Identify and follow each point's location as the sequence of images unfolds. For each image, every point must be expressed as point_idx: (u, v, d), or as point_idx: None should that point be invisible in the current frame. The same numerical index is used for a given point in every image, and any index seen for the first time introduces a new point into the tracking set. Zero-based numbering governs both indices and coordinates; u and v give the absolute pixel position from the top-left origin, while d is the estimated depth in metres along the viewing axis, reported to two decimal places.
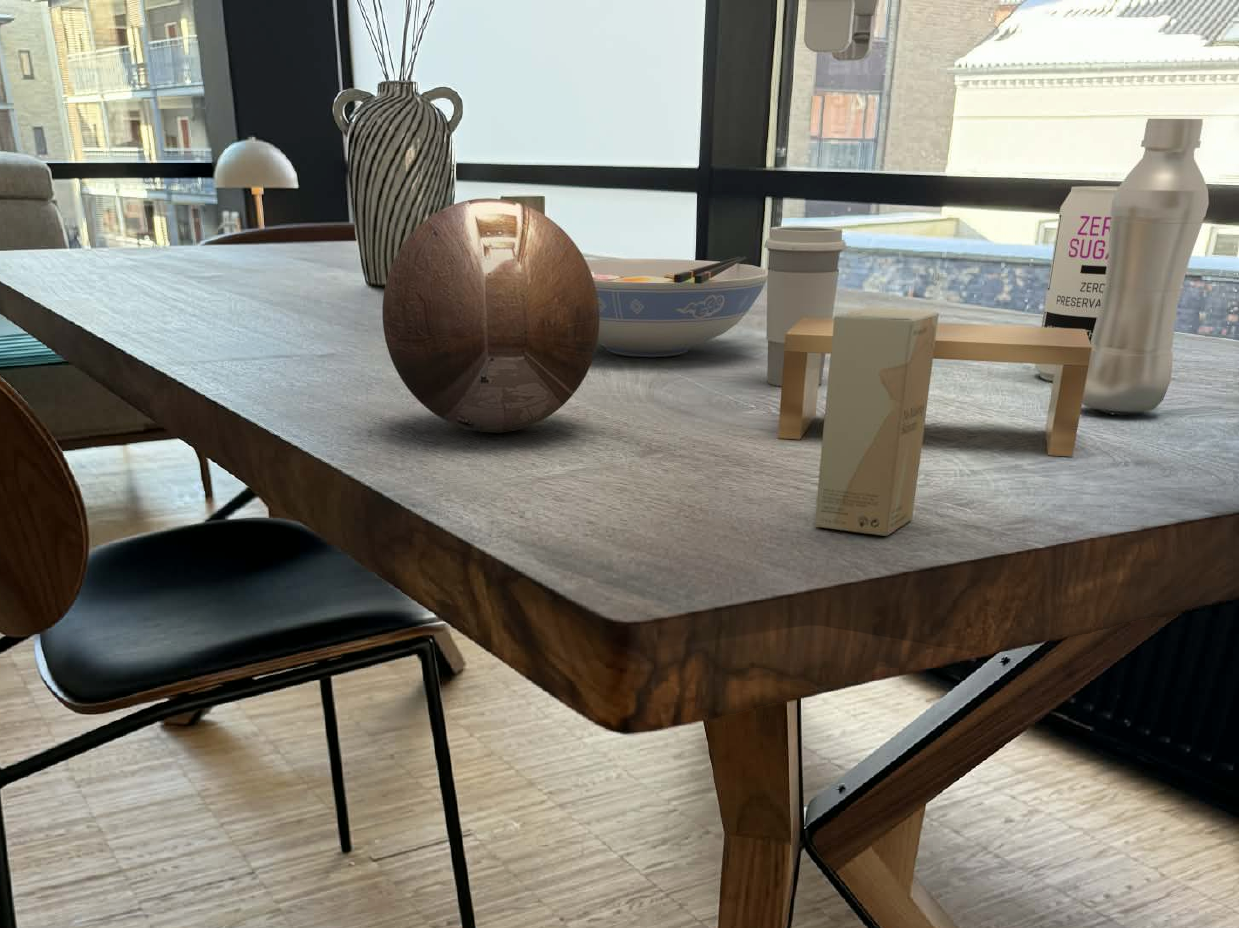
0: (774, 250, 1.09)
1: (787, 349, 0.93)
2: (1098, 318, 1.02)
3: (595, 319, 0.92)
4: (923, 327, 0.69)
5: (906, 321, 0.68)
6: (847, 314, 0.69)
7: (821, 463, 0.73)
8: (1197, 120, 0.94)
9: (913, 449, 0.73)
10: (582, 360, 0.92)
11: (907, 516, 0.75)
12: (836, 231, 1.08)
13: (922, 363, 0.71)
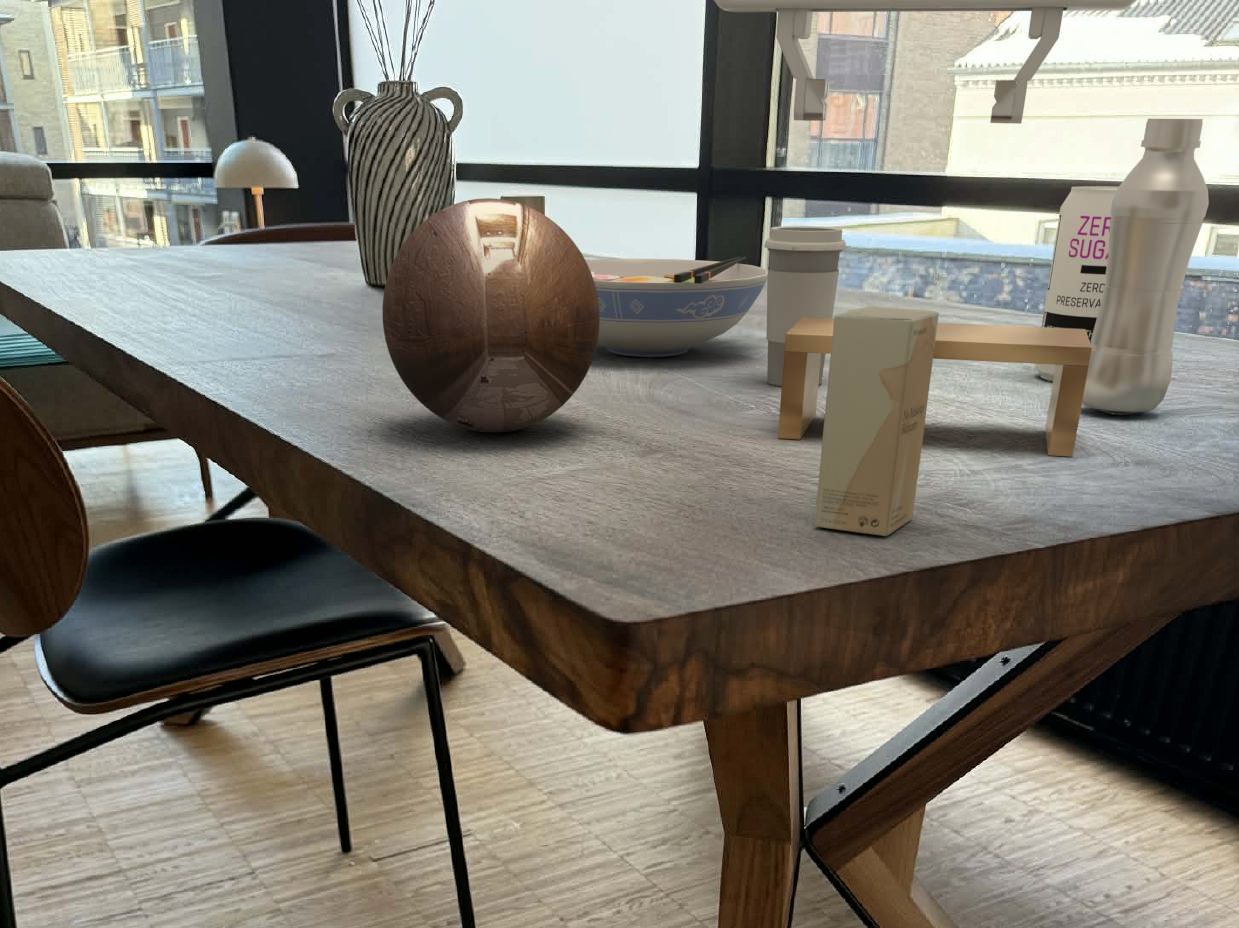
0: (774, 250, 1.09)
1: (787, 349, 0.93)
2: (1098, 318, 1.02)
3: (595, 319, 0.92)
4: (923, 327, 0.69)
5: (906, 321, 0.68)
6: (847, 314, 0.69)
7: (821, 463, 0.73)
8: (1197, 120, 0.94)
9: (913, 449, 0.73)
10: (582, 360, 0.92)
11: (907, 516, 0.75)
12: (836, 231, 1.08)
13: (922, 363, 0.71)
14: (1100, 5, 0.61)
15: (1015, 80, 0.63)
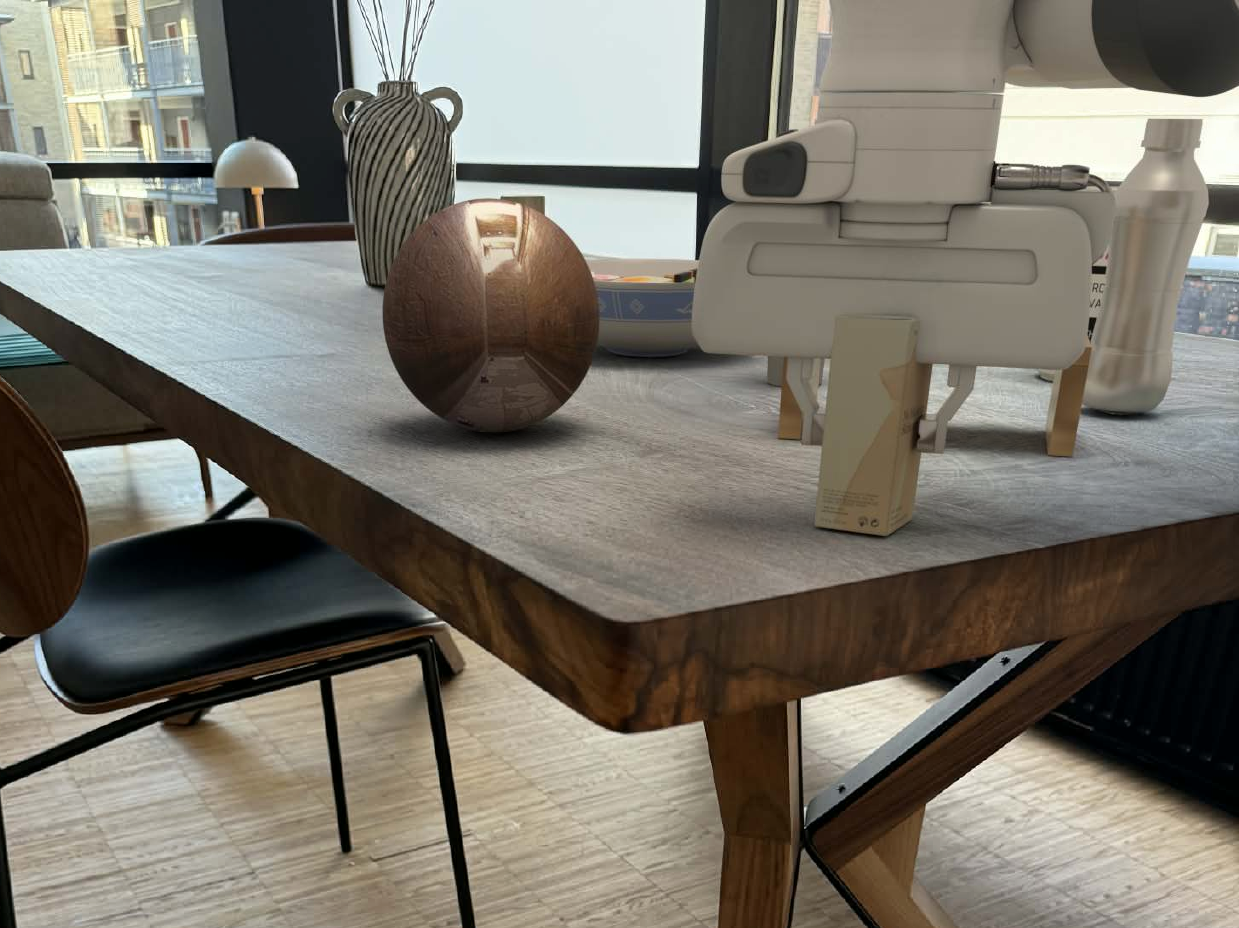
0: None
1: None
2: (1098, 318, 1.02)
3: (595, 319, 0.92)
4: None
5: (906, 320, 0.68)
6: None
7: (821, 463, 0.73)
8: (1197, 120, 0.94)
9: (913, 449, 0.73)
10: (582, 360, 0.92)
11: (907, 516, 0.75)
12: None
13: (922, 363, 0.71)
14: (1041, 368, 0.68)
15: (936, 420, 0.71)
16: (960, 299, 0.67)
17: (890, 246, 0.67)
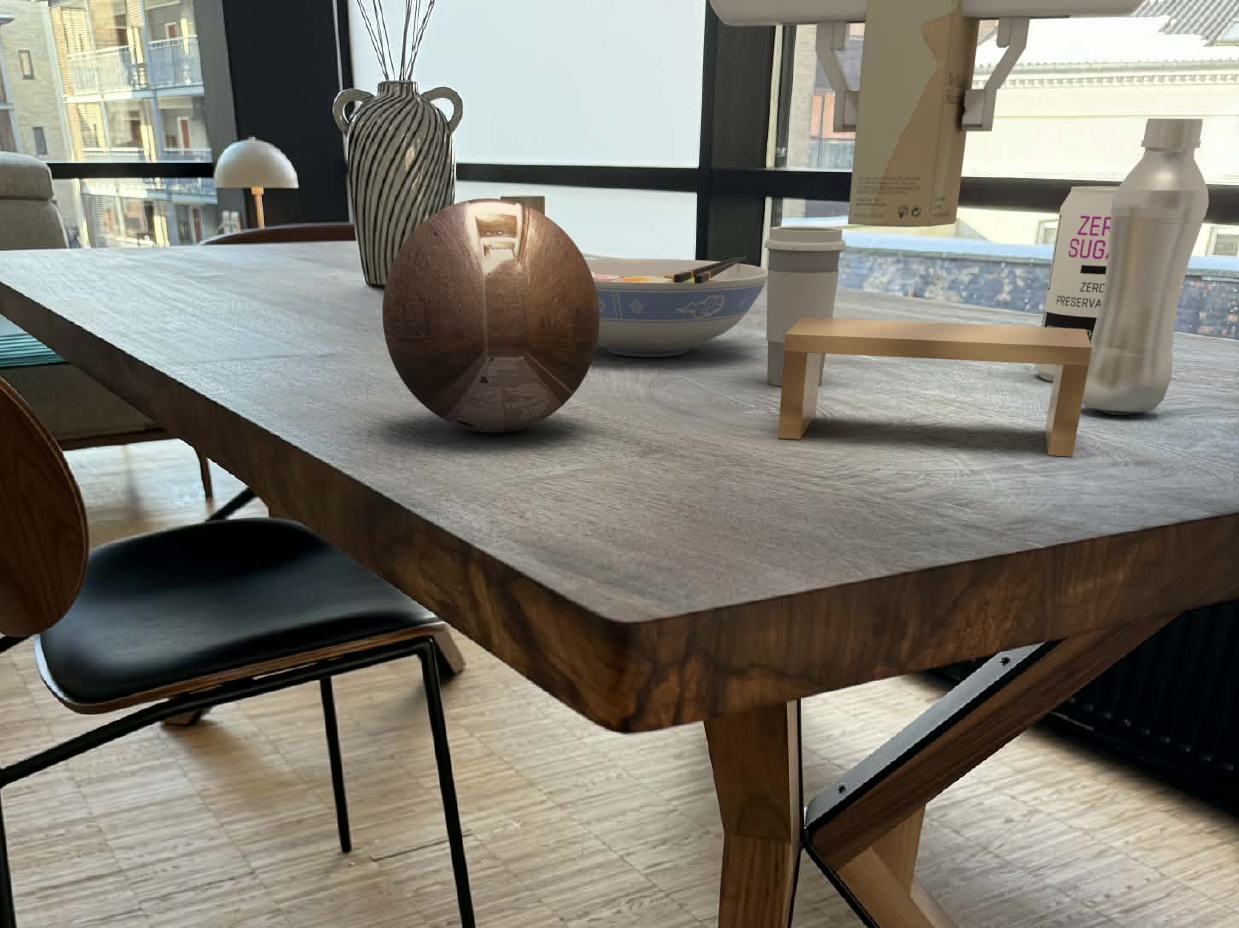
0: (774, 250, 1.09)
1: (787, 349, 0.93)
2: (1098, 318, 1.02)
3: (595, 319, 0.92)
4: None
5: None
6: None
7: (855, 146, 0.65)
8: (1197, 120, 0.94)
9: (957, 130, 0.66)
10: (582, 360, 0.92)
11: (950, 216, 0.68)
12: (836, 231, 1.08)
13: (968, 23, 0.63)
14: (1103, 12, 0.61)
15: (984, 89, 0.64)
16: None
17: None
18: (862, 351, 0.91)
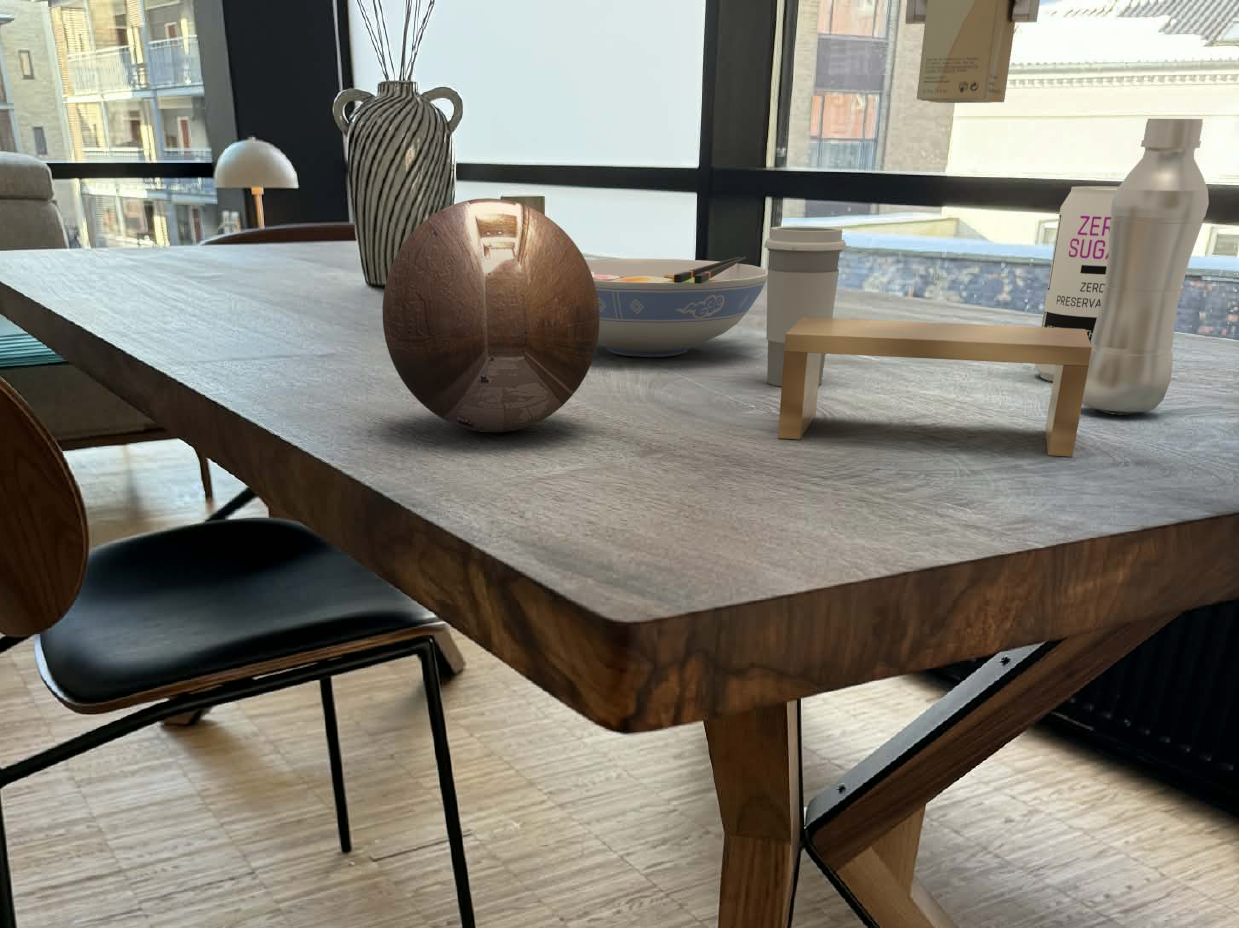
0: (774, 250, 1.09)
1: (787, 349, 0.93)
2: (1098, 318, 1.02)
3: (595, 319, 0.92)
4: None
5: None
6: None
7: (925, 33, 0.80)
8: (1197, 120, 0.94)
9: (1008, 21, 0.80)
10: (582, 360, 0.92)
11: (1001, 94, 0.82)
12: (836, 231, 1.08)
13: None
14: None
15: None
16: None
17: None
18: (862, 351, 0.91)
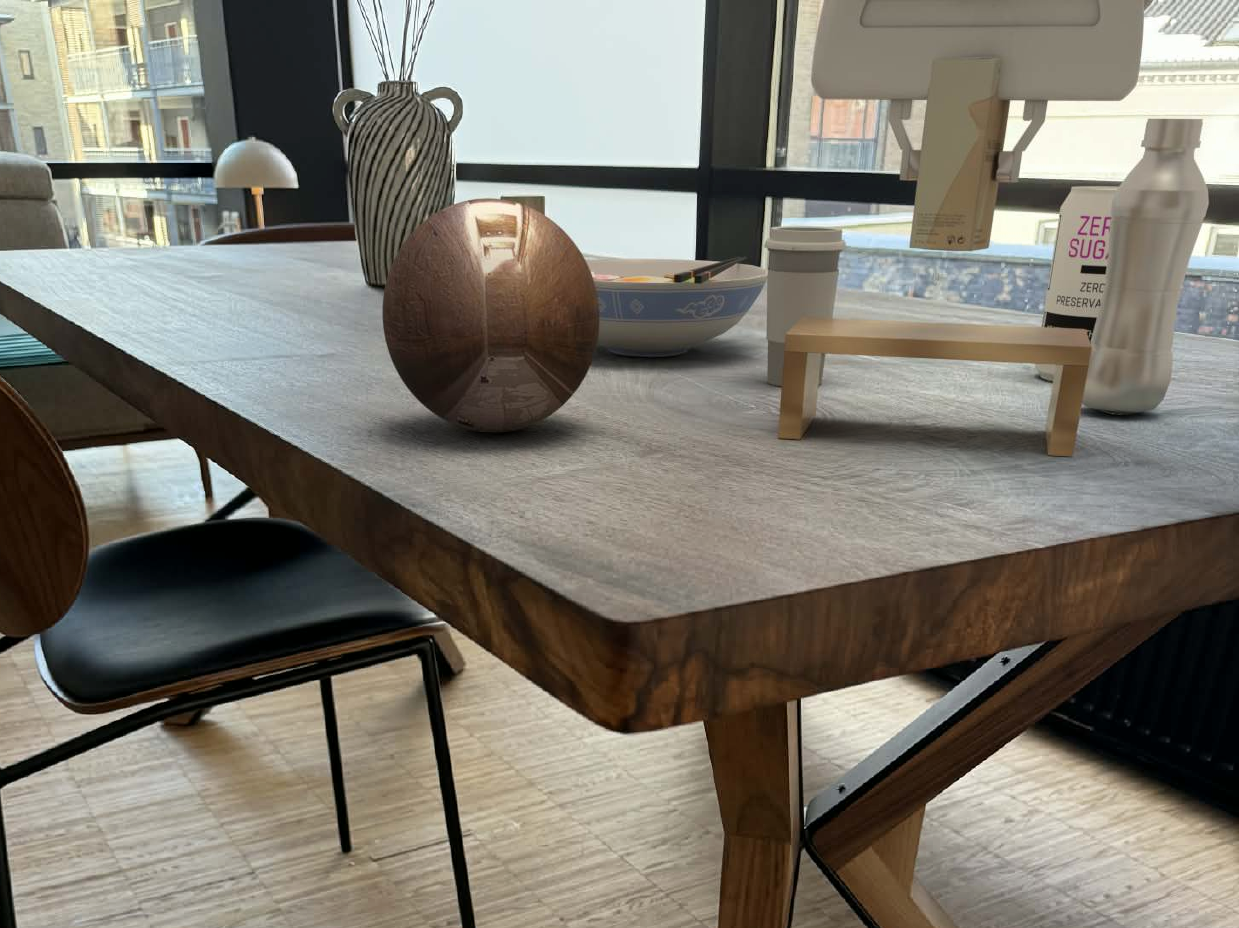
0: (774, 250, 1.09)
1: (787, 349, 0.93)
2: (1098, 318, 1.02)
3: (595, 319, 0.92)
4: None
5: (992, 58, 0.83)
6: None
7: (917, 191, 0.88)
8: (1197, 120, 0.94)
9: (992, 180, 0.89)
10: (582, 360, 0.92)
11: (985, 242, 0.91)
12: (836, 231, 1.08)
13: (1002, 102, 0.86)
14: (1101, 99, 0.84)
15: (1013, 151, 0.87)
16: (1036, 41, 0.83)
17: None
18: (862, 351, 0.91)
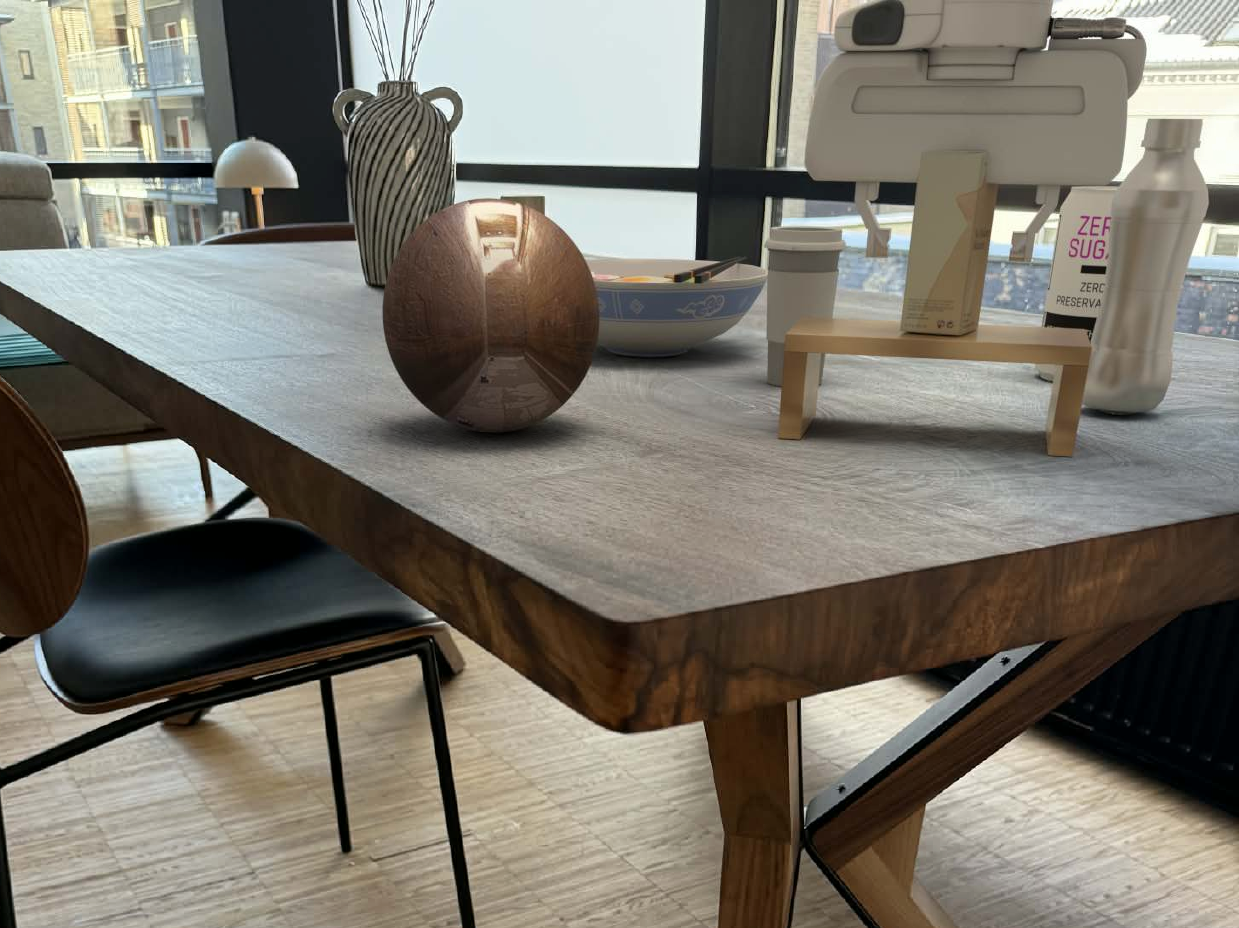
0: (774, 250, 1.09)
1: (787, 349, 0.93)
2: (1098, 318, 1.02)
3: (595, 319, 0.92)
4: None
5: (978, 153, 0.86)
6: None
7: (907, 277, 0.91)
8: (1197, 120, 0.94)
9: (980, 266, 0.91)
10: (582, 360, 0.92)
11: (974, 324, 0.93)
12: (836, 231, 1.08)
13: (989, 193, 0.89)
14: (1086, 184, 0.86)
15: (1026, 233, 0.89)
16: (1022, 128, 0.85)
17: (967, 85, 0.85)
18: (862, 351, 0.91)
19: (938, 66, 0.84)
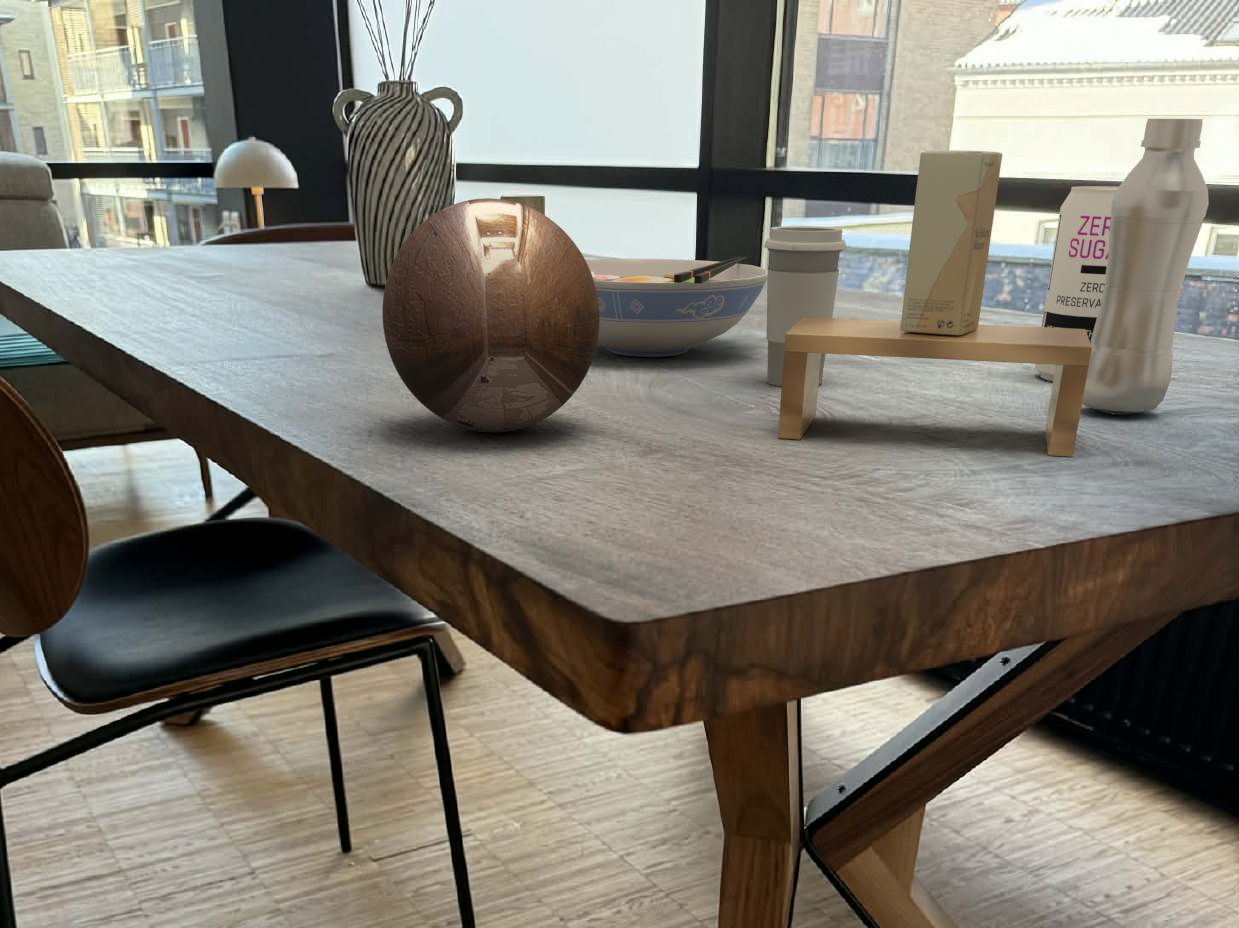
0: (774, 250, 1.09)
1: (787, 349, 0.93)
2: (1098, 318, 1.02)
3: (595, 319, 0.92)
4: (991, 161, 0.87)
5: (978, 153, 0.86)
6: (931, 151, 0.87)
7: (907, 277, 0.91)
8: (1197, 120, 0.94)
9: (980, 266, 0.91)
10: (582, 360, 0.92)
11: (974, 324, 0.93)
12: (836, 231, 1.08)
13: (989, 193, 0.89)
14: None
15: None
16: None
17: None
18: (862, 351, 0.91)
19: None
